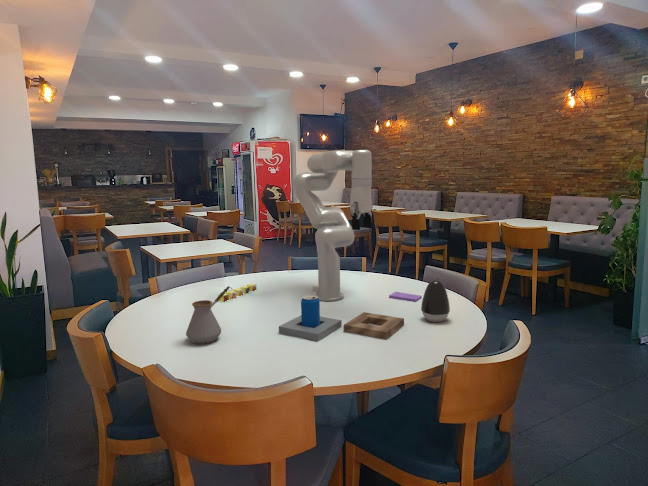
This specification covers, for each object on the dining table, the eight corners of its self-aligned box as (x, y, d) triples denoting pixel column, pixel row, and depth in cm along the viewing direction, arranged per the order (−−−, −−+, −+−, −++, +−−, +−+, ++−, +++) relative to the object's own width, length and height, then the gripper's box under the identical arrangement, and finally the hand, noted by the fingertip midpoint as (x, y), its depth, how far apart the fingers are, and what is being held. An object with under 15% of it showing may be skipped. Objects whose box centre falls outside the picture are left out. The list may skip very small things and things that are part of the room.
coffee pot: (206, 348, 144) (204, 303, 142) (178, 343, 149) (175, 299, 147) (245, 327, 163) (243, 287, 161) (219, 323, 168) (217, 284, 166)
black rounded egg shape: (450, 316, 171) (451, 277, 169) (448, 325, 161) (449, 284, 159) (422, 314, 174) (423, 275, 172) (419, 322, 165) (420, 282, 162)
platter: (191, 301, 200) (190, 293, 200) (238, 285, 228) (238, 278, 227) (247, 310, 185) (247, 302, 184) (291, 292, 212) (291, 285, 211)
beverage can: (317, 333, 156) (317, 299, 154) (299, 332, 157) (298, 299, 155) (321, 327, 162) (321, 294, 160) (304, 326, 163) (303, 294, 161)
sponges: (395, 295, 203) (395, 291, 203) (422, 299, 197) (422, 295, 196) (388, 299, 198) (388, 295, 197) (415, 303, 191) (415, 299, 190)
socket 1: (278, 333, 157) (278, 326, 156) (304, 320, 170) (304, 313, 170) (318, 341, 148) (318, 334, 148) (341, 326, 162) (341, 320, 162)
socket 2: (343, 331, 157) (343, 324, 157) (363, 318, 171) (363, 312, 170) (386, 339, 149) (386, 332, 149) (404, 325, 162) (404, 318, 162)
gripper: (362, 182, 180) (362, 225, 183) (341, 184, 165) (342, 230, 168) (380, 182, 176) (380, 226, 179) (360, 184, 162) (360, 231, 164)
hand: (361, 228), depth 173 cm, fingers open, 9 cm apart
